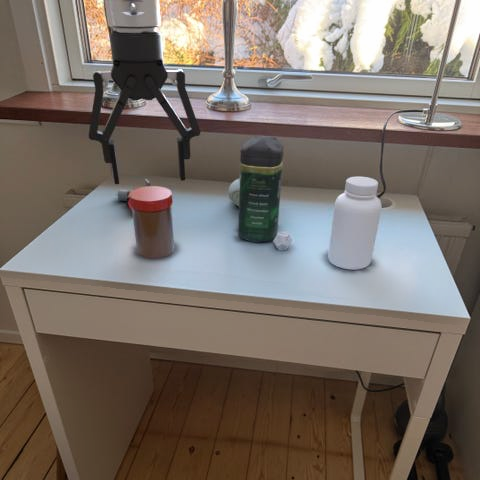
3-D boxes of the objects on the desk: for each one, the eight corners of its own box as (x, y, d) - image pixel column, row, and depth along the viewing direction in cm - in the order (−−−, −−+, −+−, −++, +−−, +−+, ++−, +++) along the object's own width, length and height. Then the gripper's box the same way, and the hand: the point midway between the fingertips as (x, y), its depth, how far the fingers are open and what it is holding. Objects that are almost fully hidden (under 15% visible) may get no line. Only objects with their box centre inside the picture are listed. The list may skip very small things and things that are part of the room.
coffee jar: (274, 245, 91) (281, 148, 80) (234, 241, 92) (236, 144, 81) (280, 225, 99) (287, 134, 88) (243, 222, 100) (245, 131, 89)
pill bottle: (343, 246, 91) (356, 170, 82) (378, 261, 87) (396, 182, 78) (318, 259, 87) (329, 180, 78) (354, 275, 82) (370, 193, 73)
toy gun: (117, 197, 110) (115, 177, 107) (167, 200, 109) (166, 179, 106) (104, 213, 102) (100, 192, 99) (158, 216, 101) (156, 195, 98)
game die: (289, 253, 88) (290, 239, 87) (270, 250, 89) (271, 236, 88) (293, 245, 91) (294, 231, 89) (274, 242, 92) (275, 228, 90)
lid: (130, 213, 80) (128, 202, 78) (129, 197, 85) (128, 187, 84) (174, 210, 81) (173, 200, 80) (170, 194, 87) (170, 185, 86)
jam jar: (137, 260, 85) (130, 204, 79) (136, 243, 91) (130, 190, 84) (175, 257, 86) (172, 202, 80) (172, 240, 92) (169, 188, 86)
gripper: (48, 32, 63) (79, 191, 76) (217, 31, 67) (219, 183, 80) (55, 27, 69) (82, 176, 82) (209, 27, 73) (212, 169, 86)
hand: (150, 179), depth 81 cm, fingers open, 10 cm apart
